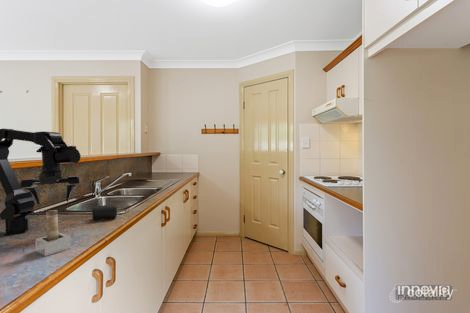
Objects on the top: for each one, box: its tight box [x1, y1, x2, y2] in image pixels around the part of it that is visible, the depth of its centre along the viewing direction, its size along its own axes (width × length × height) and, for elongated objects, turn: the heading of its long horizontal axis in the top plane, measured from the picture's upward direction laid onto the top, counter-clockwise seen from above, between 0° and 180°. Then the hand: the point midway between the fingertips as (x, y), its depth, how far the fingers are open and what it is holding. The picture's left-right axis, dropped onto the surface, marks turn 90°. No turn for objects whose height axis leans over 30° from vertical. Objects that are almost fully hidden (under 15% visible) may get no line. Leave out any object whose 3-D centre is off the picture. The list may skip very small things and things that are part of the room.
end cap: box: [91, 203, 118, 222], centre depth 115 cm, size 10×7×7 cm
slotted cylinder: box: [45, 209, 59, 242], centre depth 80 cm, size 3×3×13 cm
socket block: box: [34, 232, 72, 257], centre depth 80 cm, size 7×7×4 cm
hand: (53, 202), depth 96 cm, fingers open, 9 cm apart
